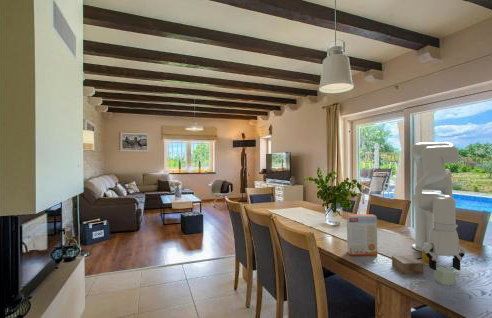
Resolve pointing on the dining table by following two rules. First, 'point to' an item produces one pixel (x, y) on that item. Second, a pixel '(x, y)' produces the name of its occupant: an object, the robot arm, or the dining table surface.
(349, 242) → the cracker box
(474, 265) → the dining table surface
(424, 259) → the supplement bottle
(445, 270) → the sage cube
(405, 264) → the walnut block
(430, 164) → the robot arm
